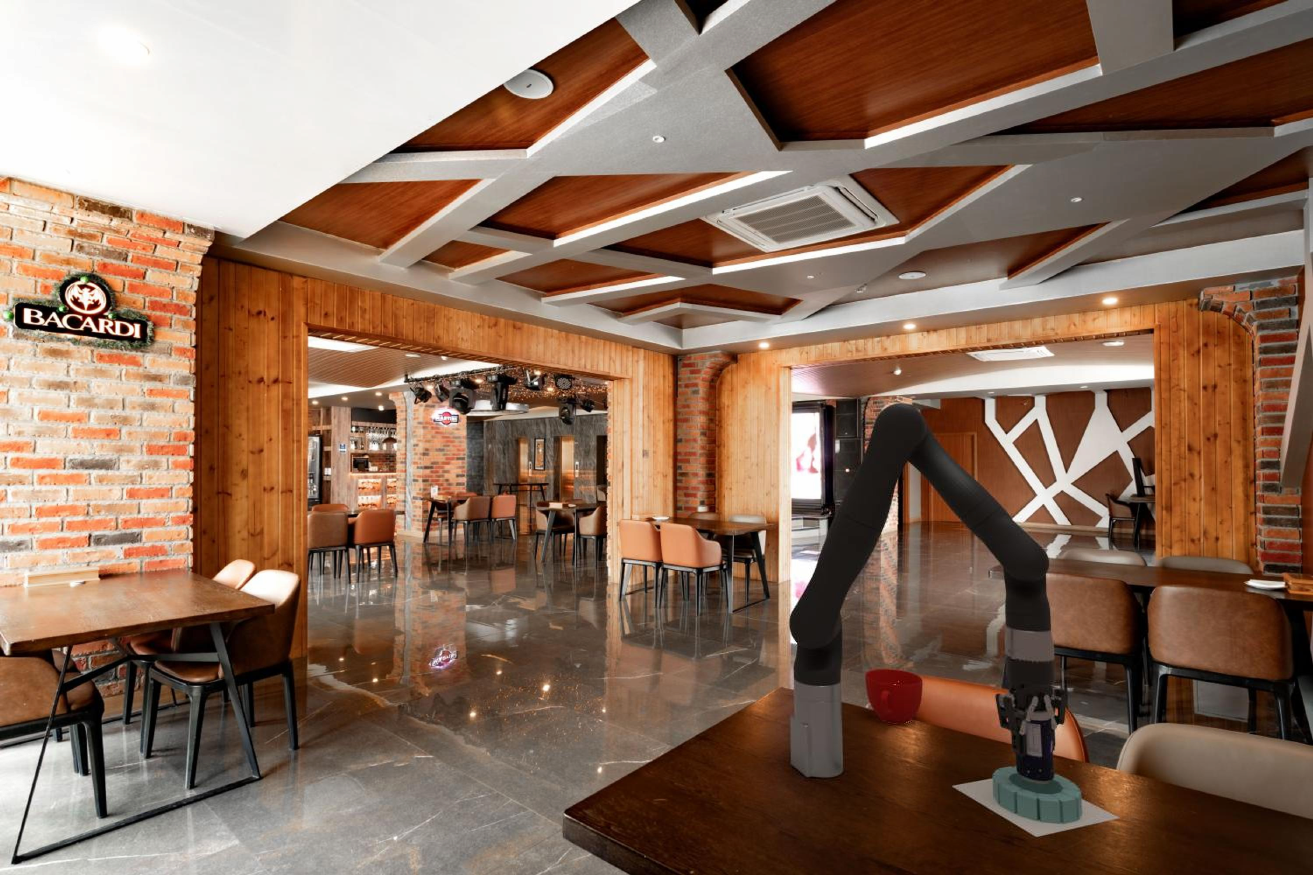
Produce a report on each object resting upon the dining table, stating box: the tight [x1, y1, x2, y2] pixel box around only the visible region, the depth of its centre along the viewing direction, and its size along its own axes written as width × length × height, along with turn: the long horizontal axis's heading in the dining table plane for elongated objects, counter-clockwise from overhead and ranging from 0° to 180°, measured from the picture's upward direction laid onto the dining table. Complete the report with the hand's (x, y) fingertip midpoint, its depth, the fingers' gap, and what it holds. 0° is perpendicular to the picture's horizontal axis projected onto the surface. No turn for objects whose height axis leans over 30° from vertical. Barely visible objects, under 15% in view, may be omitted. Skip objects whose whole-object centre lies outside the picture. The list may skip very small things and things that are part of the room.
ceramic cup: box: [864, 668, 924, 725], centre depth 153 cm, size 13×17×10 cm
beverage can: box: [1015, 708, 1055, 784], centre depth 113 cm, size 6×6×12 cm
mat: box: [951, 777, 1120, 838], centre depth 113 cm, size 18×18×1 cm
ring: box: [992, 765, 1082, 824], centre depth 112 cm, size 13×13×4 cm
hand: (1033, 751), depth 113 cm, fingers closed on beverage can, 5 cm apart
